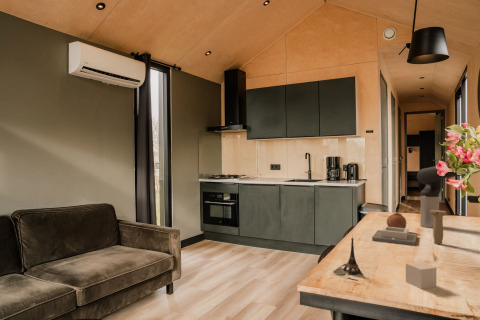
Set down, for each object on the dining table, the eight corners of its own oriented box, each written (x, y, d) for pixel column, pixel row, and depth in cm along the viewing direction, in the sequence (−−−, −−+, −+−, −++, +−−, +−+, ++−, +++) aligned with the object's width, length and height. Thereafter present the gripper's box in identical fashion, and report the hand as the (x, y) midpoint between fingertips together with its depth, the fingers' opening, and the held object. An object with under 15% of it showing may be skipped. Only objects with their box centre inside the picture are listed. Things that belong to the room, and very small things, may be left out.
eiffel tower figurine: (344, 264, 125) (345, 229, 125) (372, 270, 119) (373, 233, 119) (328, 275, 114) (328, 236, 114) (358, 282, 107) (358, 241, 107)
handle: (445, 246, 149) (445, 212, 149) (428, 243, 154) (429, 210, 154) (447, 244, 153) (447, 211, 153) (431, 241, 157) (431, 209, 157)
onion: (402, 229, 183) (402, 211, 183) (409, 233, 173) (409, 214, 173) (384, 229, 184) (384, 211, 184) (390, 233, 174) (390, 214, 174)
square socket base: (377, 233, 175) (377, 224, 175) (416, 237, 166) (416, 228, 166) (372, 240, 159) (372, 231, 159) (414, 245, 150) (414, 235, 150)
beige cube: (405, 282, 107) (405, 263, 107) (420, 280, 109) (420, 261, 109) (420, 289, 101) (420, 269, 101) (436, 287, 103) (436, 267, 103)
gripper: (511, 190, 145) (466, 189, 154) (518, 193, 133) (469, 191, 141) (511, 208, 145) (466, 205, 154) (518, 212, 133) (469, 209, 141)
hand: (468, 199), depth 147 cm, fingers open, 8 cm apart
